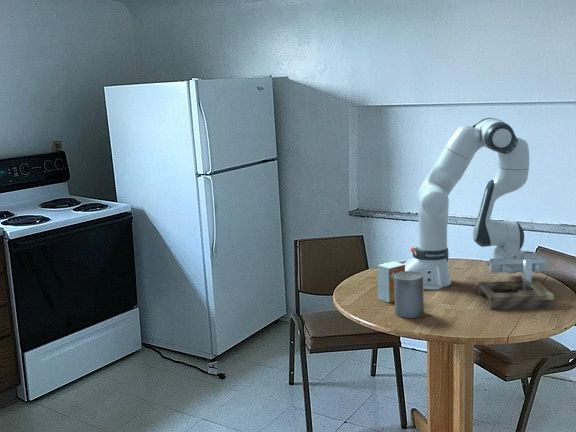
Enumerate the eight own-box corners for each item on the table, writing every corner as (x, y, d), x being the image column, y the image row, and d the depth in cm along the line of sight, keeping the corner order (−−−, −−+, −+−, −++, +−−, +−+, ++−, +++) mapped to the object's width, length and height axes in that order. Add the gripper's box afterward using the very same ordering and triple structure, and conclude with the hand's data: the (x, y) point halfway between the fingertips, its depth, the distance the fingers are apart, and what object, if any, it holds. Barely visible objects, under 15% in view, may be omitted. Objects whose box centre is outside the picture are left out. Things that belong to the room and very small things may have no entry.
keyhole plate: (490, 309, 216) (491, 297, 215) (478, 294, 233) (478, 282, 232) (553, 308, 215) (553, 295, 214) (536, 292, 232) (536, 280, 231)
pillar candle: (411, 306, 223) (410, 265, 220) (429, 314, 214) (429, 272, 211) (389, 312, 218) (387, 270, 215) (406, 320, 210) (405, 277, 207)
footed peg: (520, 303, 221) (521, 262, 218) (515, 298, 227) (516, 257, 224) (538, 303, 220) (539, 261, 218) (532, 297, 226) (533, 257, 223)
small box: (389, 303, 227) (388, 268, 225) (377, 299, 232) (376, 264, 230) (405, 298, 232) (405, 264, 229) (393, 294, 237) (393, 260, 234)
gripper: (484, 253, 239) (494, 263, 225) (539, 251, 238) (552, 261, 224) (484, 269, 240) (493, 280, 226) (539, 268, 239) (552, 278, 225)
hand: (523, 271), depth 225 cm, fingers open, 8 cm apart
